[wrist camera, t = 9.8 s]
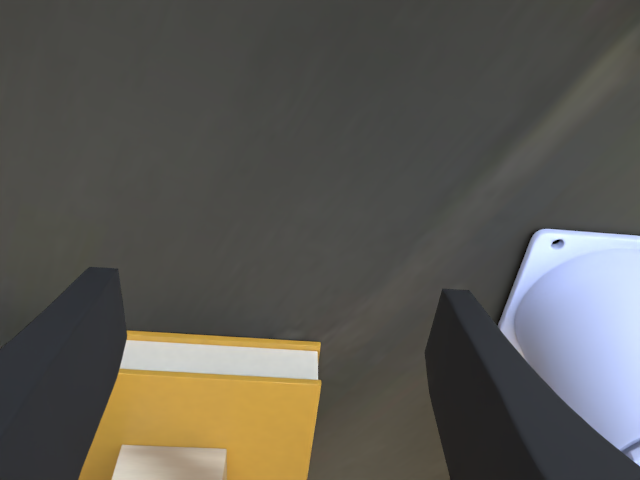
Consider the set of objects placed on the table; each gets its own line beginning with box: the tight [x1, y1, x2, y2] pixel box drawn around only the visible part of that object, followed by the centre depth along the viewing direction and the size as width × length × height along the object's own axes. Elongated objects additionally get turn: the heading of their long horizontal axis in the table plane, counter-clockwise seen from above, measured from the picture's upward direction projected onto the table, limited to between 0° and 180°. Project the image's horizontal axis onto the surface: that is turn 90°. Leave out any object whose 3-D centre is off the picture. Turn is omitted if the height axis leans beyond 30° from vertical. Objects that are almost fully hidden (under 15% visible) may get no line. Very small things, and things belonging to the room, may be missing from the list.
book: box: [78, 330, 321, 480], centre depth 31 cm, size 13×17×3 cm
